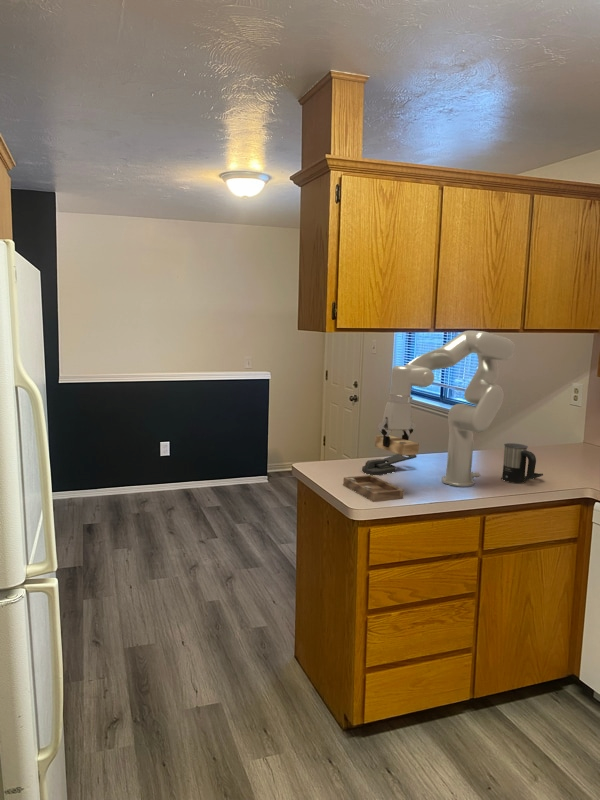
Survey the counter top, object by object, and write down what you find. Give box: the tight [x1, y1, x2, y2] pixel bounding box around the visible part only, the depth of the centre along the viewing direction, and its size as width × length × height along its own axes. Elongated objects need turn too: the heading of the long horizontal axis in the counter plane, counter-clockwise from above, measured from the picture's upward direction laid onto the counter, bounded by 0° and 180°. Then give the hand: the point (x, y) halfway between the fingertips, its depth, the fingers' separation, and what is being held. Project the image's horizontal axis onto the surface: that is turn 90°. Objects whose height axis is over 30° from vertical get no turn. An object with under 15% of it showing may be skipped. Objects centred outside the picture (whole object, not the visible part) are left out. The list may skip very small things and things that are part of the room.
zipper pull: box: [361, 453, 418, 476], centre depth 254 cm, size 9×7×25 cm
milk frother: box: [501, 442, 544, 484], centre depth 247 cm, size 14×16×15 cm
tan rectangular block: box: [374, 434, 420, 456], centre depth 224 cm, size 16×7×4 cm, turn 33°
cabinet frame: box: [343, 474, 405, 503], centre depth 223 cm, size 22×12×4 cm, turn 25°
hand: (395, 446), depth 224 cm, fingers closed on tan rectangular block, 7 cm apart
